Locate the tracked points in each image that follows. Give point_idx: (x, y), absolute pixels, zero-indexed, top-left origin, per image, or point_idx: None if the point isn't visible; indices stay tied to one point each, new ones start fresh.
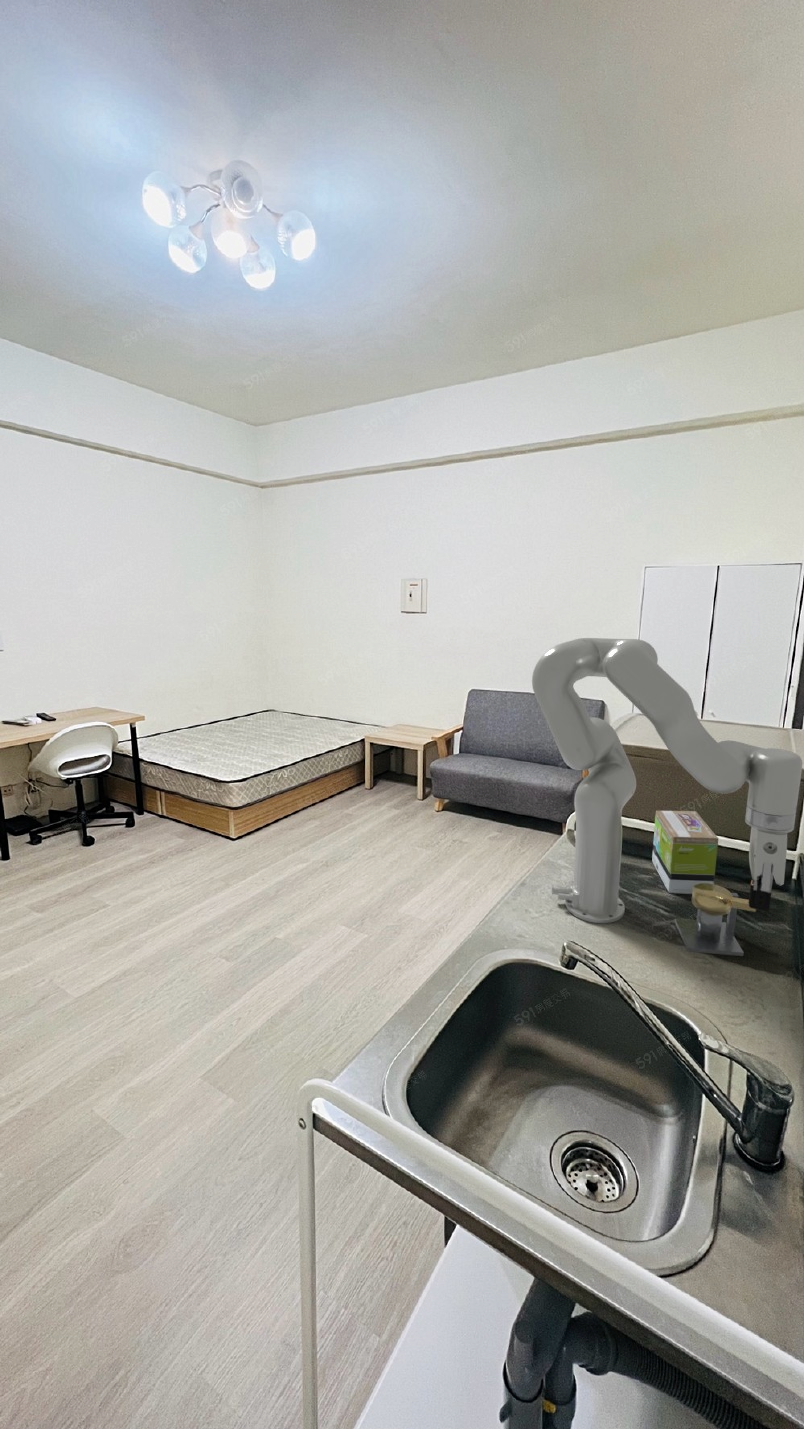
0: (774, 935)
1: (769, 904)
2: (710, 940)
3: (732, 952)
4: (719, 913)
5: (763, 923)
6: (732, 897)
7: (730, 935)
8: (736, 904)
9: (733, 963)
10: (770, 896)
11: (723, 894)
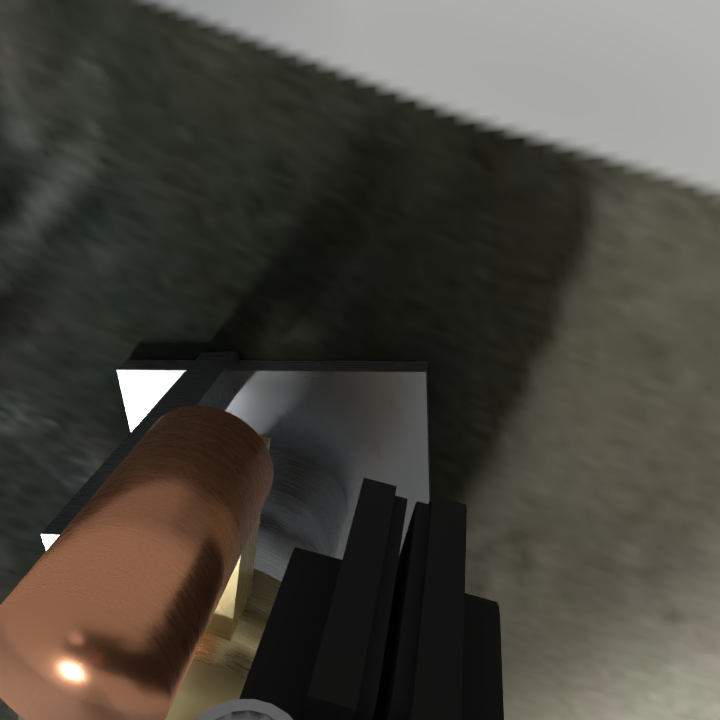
0: (135, 78)
1: (463, 562)
2: (345, 511)
3: (428, 426)
4: None
5: (7, 106)
6: (212, 668)
7: (257, 388)
8: (242, 591)
9: (508, 433)
10: (461, 667)
11: (180, 712)
